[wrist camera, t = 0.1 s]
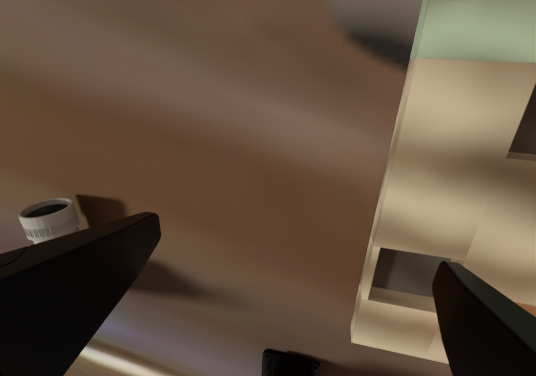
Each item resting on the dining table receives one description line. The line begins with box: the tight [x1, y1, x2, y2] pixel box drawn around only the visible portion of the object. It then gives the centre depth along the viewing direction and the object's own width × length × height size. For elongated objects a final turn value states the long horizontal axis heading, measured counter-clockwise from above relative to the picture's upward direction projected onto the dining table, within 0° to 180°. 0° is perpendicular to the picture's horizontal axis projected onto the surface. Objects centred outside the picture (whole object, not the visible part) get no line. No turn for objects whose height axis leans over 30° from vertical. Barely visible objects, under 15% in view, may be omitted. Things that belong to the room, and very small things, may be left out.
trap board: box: [351, 0, 536, 364], centre depth 19 cm, size 33×13×4 cm, turn 178°
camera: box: [18, 198, 80, 244], centre depth 26 cm, size 9×12×15 cm
